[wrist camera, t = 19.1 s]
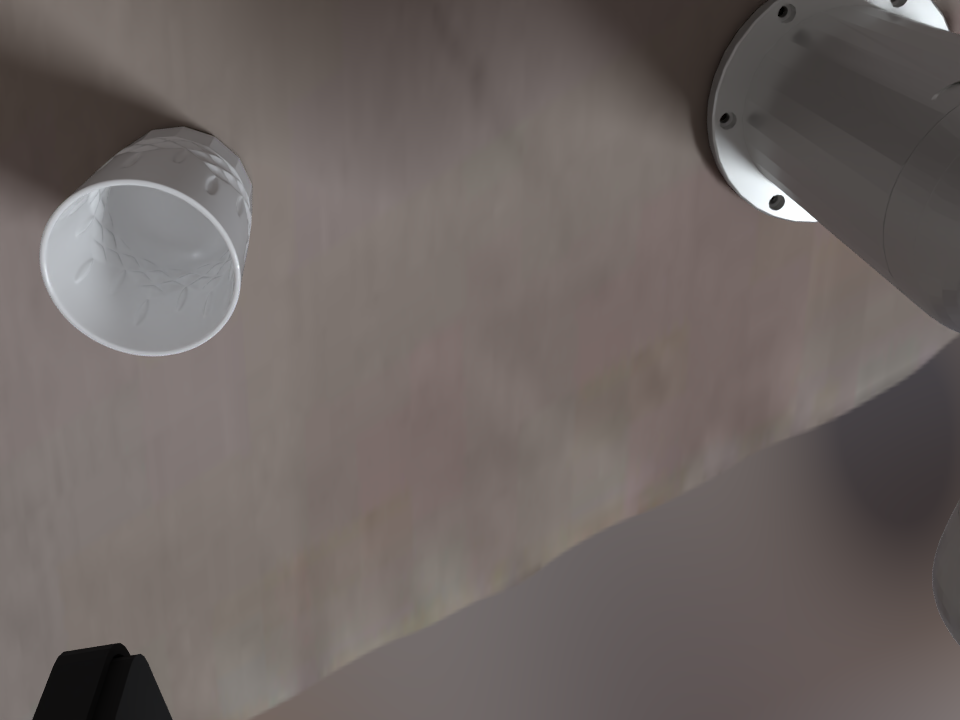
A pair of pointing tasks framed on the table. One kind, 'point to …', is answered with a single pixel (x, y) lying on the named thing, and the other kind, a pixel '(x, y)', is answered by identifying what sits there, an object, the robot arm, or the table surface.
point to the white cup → (152, 244)
